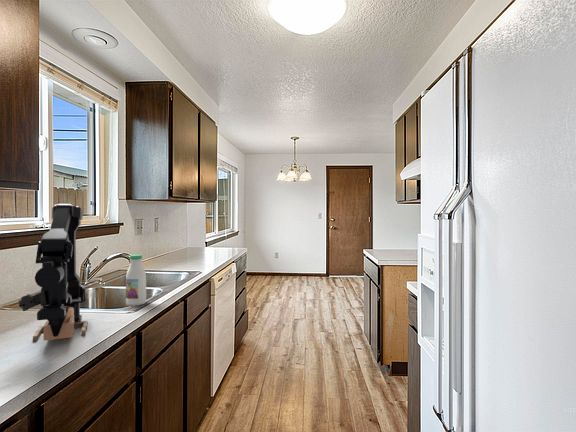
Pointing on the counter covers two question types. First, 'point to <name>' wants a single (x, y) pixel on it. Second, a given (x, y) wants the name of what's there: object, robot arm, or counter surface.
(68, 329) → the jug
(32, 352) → the counter surface
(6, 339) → the counter surface
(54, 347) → the counter surface
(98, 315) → the counter surface
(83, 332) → the cradle
